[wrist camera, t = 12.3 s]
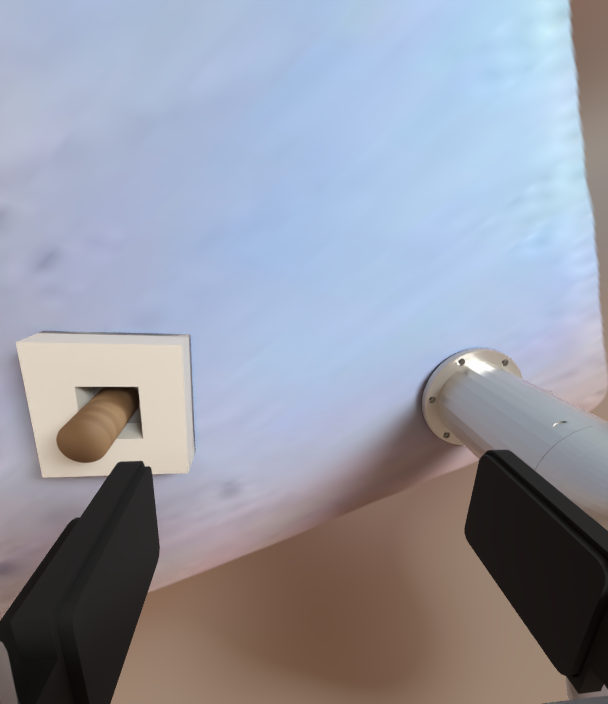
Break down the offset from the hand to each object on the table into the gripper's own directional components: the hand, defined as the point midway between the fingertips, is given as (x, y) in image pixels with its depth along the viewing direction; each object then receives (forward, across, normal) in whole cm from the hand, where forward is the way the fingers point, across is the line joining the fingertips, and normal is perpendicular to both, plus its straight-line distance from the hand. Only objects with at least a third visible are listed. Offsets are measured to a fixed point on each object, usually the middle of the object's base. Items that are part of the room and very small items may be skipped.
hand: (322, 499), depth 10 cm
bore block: (+28, +16, +9) cm, 34 cm away
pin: (+27, +16, +9) cm, 33 cm away
